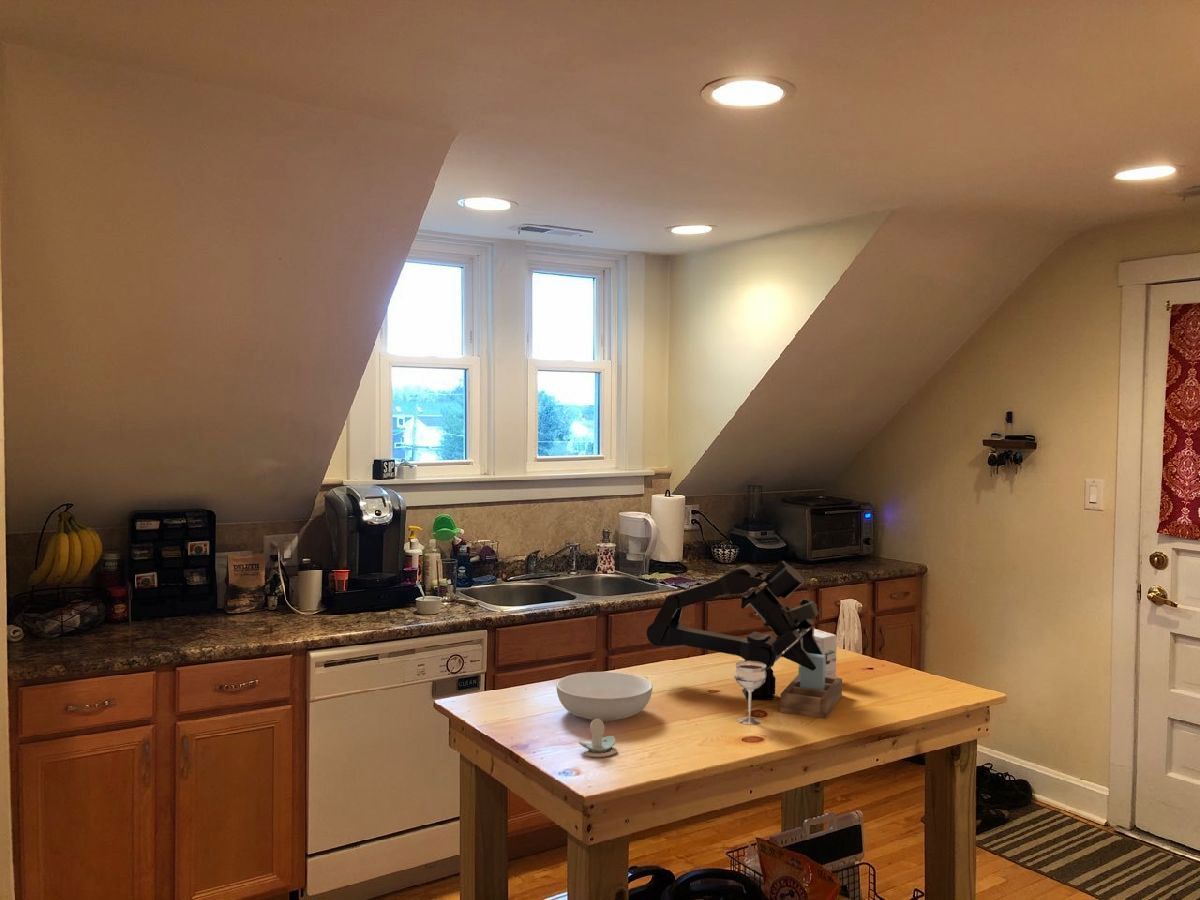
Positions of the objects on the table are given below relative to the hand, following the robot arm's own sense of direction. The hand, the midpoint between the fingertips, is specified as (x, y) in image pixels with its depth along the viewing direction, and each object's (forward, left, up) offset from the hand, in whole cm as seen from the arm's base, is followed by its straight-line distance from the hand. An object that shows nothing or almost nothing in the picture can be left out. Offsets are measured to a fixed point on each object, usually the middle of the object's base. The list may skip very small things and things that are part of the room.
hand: (819, 664), depth 210 cm
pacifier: (-50, -32, -9) cm, 60 cm away
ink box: (+4, +20, -9) cm, 22 cm away
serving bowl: (-49, -9, -9) cm, 50 cm away
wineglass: (-18, -12, -9) cm, 23 cm away
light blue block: (-1, +1, -8) cm, 8 cm away
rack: (-1, +1, -9) cm, 9 cm away
